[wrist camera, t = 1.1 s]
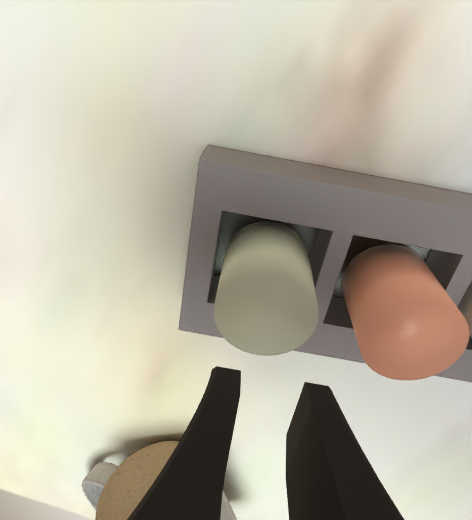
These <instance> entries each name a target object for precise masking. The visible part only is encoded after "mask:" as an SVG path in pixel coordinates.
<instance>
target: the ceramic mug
mask: <svg viewBox="0 0 472 520" xmlns="http://www.w3.org/2000/svg"><path fill="white" fill-rule="evenodd" d="M178 443H179V441H163V442H157V443H154V444H151V445H148V446H146V447H144V448H142V449H140V450H138V451H136V452H135V453H134V454H132V455H131V456H129V457H128V458H127V459H126V460H124V461H123V462H122V463H121V464H120V465H119V466H117V465H114V464H112V463H107V462H100V463H98V464H96V465H95V466H94V468H93V469H92V470H91V471H90V472H89V473H88V475H87V476H86V477H85V479H84V480H83V482H82V488H83V492H84V493H85V496H86V497H87V499H88V500H89V502H90V503H91V505H92V506H93V507H94V509H95V510H96V519H95V520H127V519H128V517H129V516H130V515H131V513H132V512H133V511H134V509H135V508H136V507H137V505H138V504H139V502H140V501H141V500H142V498H143V497H144V495H145V494H146V493H147V491H148V490H149V488H150V487H151V485H152V484H153V482H154V481H155V479H156V478H157V476H158V475H159V474H160V472H161V470H162V469H163V467H164V466H165V464H166V462H167V461H168V459H169V458H170V456H171V454H172V453H173V451H174V450H175V448H176V446H177V445H178ZM220 520H237V518H236V516H235V514H234V512H233V510H232V507H231V505H230V503H229V501H228V499H227V497H226V495H225V493H224V491H223V493H222V505H221V517H220Z"/></svg>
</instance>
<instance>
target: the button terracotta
mask: <svg viewBox="0 0 472 520" xmlns="http://www.w3.org/2000/svg"><path fill="white" fill-rule="evenodd" d="M341 284H342V292H343V295H344V298H345V302H346V305H347V308H348V312H349V315H350V318H351V322H352V325H353V328H354V332H355V335H356V338H357V342H358V345H359V348H360V352H361V355H362V357H363V359H364V361H365V363H366V364H367V365H368V366H369V367H370V368H371V369H372V370H373V371H375V372H377V373H378V374H380V375H382V376H385V377H388V378H392V379H397V380H417V379H422V378H427V377H430V376H433V375H435V374H438V373H440V372H442V371H444V370H445V369H447V368H448V367H450V366H451V365H452V364H454V363H455V362H456V361H457V360H458V359H459V358H460V356H461V355H462V354H463V352H464V351H465V349H466V347H467V344H468V341H469V327H468V323H467V321H466V319H465V317H464V316H463V315H462V313H461V312H460V310H459V309H458V308H457V306H456V305H455V303H454V302H453V301H452V299H451V298H450V297H449V295H448V294H447V292H446V291H445V290H444V288H443V287H442V285H441V284H440V283H439V281H438V280H437V278H436V277H435V276H434V274H433V273H432V272H431V270H430V269H429V267H428V266H427V265H426V263H425V262H424V260H423V259H422V258H421V257H420V256H419V254H417V253H416V252H415V251H413V250H412V249H410V248H408V247H405V246H401V245H396V244H384V245H378V246H374V247H371V248H369V249H367V250H365V251H363V252H361V253H360V254H358V255H357V256H356V257H355V258H354V259H352V260H351V262H350V263H349V264H348V266H347V267H346V269H345V271H344V273H343V277H342V283H341Z"/></svg>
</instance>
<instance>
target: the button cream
mask: <svg viewBox="0 0 472 520" xmlns="http://www.w3.org/2000/svg"><path fill="white" fill-rule="evenodd" d="M457 308H458V309H459V310H460V312H461V313H462V315H463V316H464V317H465V319H466V321H467V323H468V327H469V335H470V337H471V338H472V282H471V283H470V285H469V286H468V288H467V290H466V292H465V294H464V296H463V297H462V299H461V301H460V303H459V305H458V307H457Z"/></svg>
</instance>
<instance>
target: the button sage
mask: <svg viewBox="0 0 472 520" xmlns="http://www.w3.org/2000/svg"><path fill="white" fill-rule="evenodd" d="M318 318H319V308H318V303H317V298H316V292H315V287H314V282H313V277H312V271H311V266H310V261H309V256H308V251H307V247H306V245H305V243H304V241H303V239H302V238H301V237H300V235H299V234H298V233H296V232H295V231H294V230H293V229H291V228H290V227H288V226H286V225H283V224H281V223H277V222H270V221H262V222H256V223H252V224H250V225H247V226H245V227H243V228H242V229H240V230H239V231H238V232H237V233H235V234H234V236H233V237H232V238H231V239H230V241H229V243H228V245H227V247H226V251H225V256H224V261H223V265H222V270H221V275H220V280H219V285H218V289H217V294H216V299H215V304H214V320H215V323H216V326H217V328H218V330H219V332H220V333H221V335H222V336H223V337H224V338H225V339H226V340H227V341H228V342H229V343H230V344H232V345H233V346H235V347H236V348H238V349H240V350H242V351H245V352H248V353H252V354H256V355H278V354H283V353H286V352H289V351H291V350H294V349H296V348H297V347H299V346H301V345H302V344H303V343H305V342H306V341H307V340H308V339H309V338H310V336H311V335H312V334H313V332H314V330H315V328H316V326H317V323H318Z"/></svg>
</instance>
